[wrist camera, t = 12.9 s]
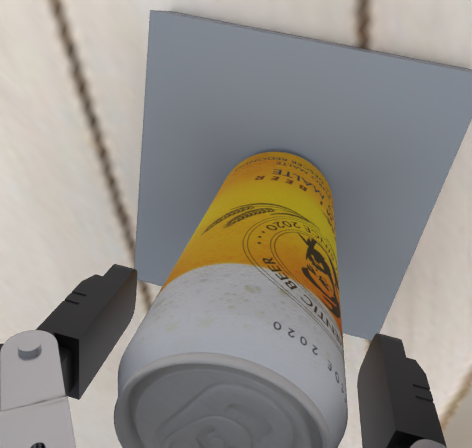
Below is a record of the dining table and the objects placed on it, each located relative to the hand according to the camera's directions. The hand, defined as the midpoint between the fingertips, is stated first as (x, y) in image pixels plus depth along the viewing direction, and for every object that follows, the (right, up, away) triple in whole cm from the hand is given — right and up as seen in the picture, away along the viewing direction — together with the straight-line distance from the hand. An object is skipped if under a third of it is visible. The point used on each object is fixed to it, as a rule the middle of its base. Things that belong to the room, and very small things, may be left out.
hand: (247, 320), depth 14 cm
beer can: (+2, +5, +10) cm, 11 cm away
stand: (+2, +6, +12) cm, 14 cm away
